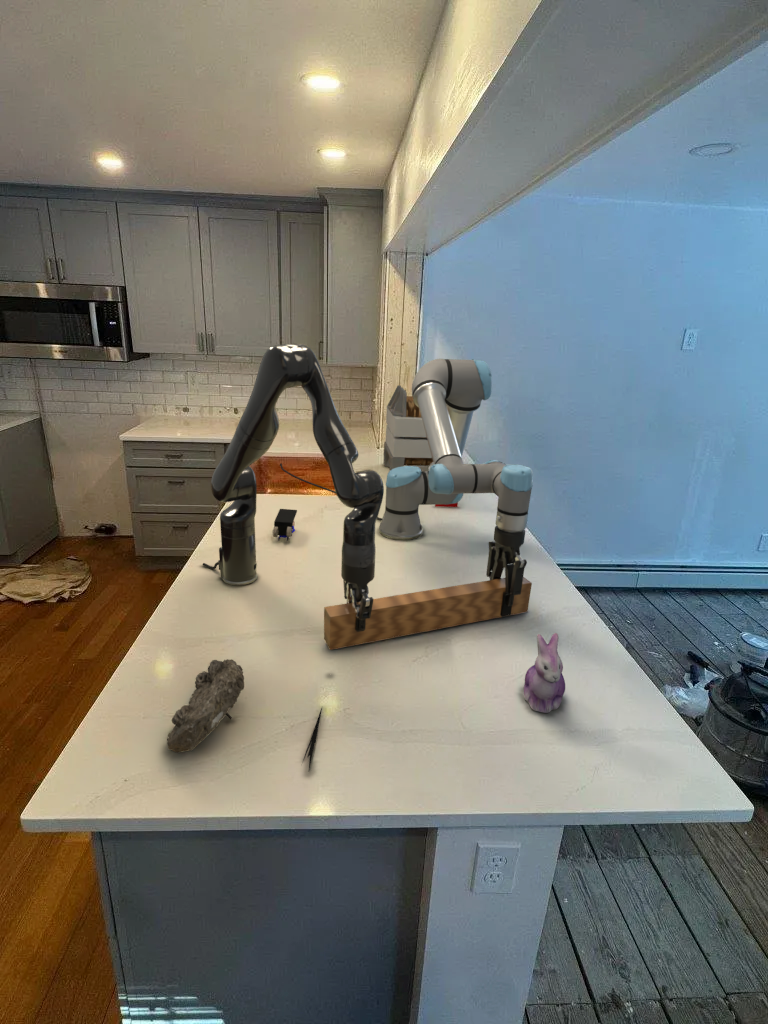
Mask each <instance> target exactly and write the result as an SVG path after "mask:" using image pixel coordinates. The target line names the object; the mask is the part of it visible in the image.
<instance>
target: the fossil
mask: <svg viewBox="0 0 768 1024" xmlns="http://www.w3.org/2000/svg"><path fill="white" fill-rule="evenodd" d="M243 670H244V669H243V667H242V665H240V664H237V662H236V661H235V660H234V659H232V658H231V659H227V658H226V659H224V660H223V661H222V660H217V659H212V660H211V661H210V663H209V665H208V666H207V671H201V672H199V673H198V674H197V675H196V676H195V680H194V684H195V685H194V687H195V689H194V690H193V693H192V694H191V697H190V698H189V700H188V704H184V705H182V706H181V707H180V709H177V710H176V711H175V713H174V715H173V716H172V718H171V723H172V724H173V727H172V730H171V731H170V732H168V734H167V738H166V741H167V742H166V745H167V749H168V750H169V751H173V752H174V753H176V754H178V753H182V752H188V751H189V752H192V751H193V750H195V748H196V747H197V746H199V744H200V743H201V742H203V741H204V740H205V739H206V738H207V737H208V736H209V735H210V734H211V733H212V732H214V730H215V729H217V727H218V726H219V724H220V722H221V721H222V720H223V719H224V718H225V716H226V717H227V719H229V720H233V717H232V715H230V714H229V710H230V709H231V708H234V706H235V704H236V703H237V702H238V699H239V697H240V695H241V693H242V691H243V690H245V689H244V688H245V675H244V671H243Z"/></svg>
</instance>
